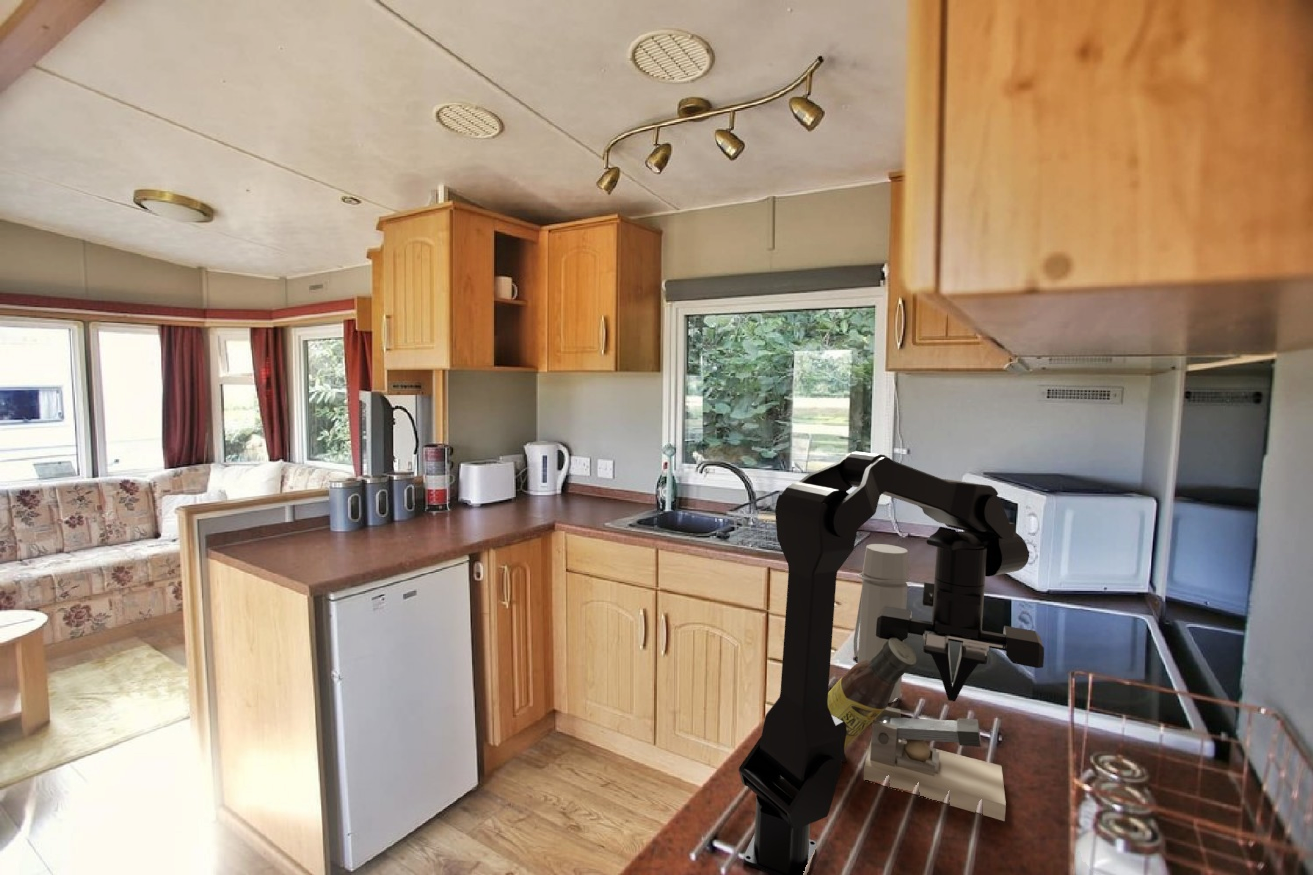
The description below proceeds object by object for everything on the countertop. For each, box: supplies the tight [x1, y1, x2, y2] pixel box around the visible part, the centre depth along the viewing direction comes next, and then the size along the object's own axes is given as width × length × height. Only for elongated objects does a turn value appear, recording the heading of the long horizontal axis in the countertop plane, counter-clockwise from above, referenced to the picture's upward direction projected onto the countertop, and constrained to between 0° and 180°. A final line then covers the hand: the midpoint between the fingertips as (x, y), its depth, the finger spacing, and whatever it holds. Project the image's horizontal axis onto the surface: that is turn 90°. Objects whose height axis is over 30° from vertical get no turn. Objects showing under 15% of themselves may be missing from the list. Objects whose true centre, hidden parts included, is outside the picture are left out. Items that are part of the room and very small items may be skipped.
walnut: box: [905, 739, 930, 762], centre depth 81 cm, size 3×3×3 cm
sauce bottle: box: [828, 638, 917, 751], centre depth 82 cm, size 6×6×20 cm
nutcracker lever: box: [880, 716, 982, 748], centre depth 81 cm, size 4×12×2 cm, turn 64°
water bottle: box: [853, 543, 910, 704], centre depth 104 cm, size 9×8×25 cm
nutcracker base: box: [863, 706, 1007, 822], centre depth 81 cm, size 9×16×7 cm, turn 64°
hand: (951, 699), depth 79 cm, fingers closed
